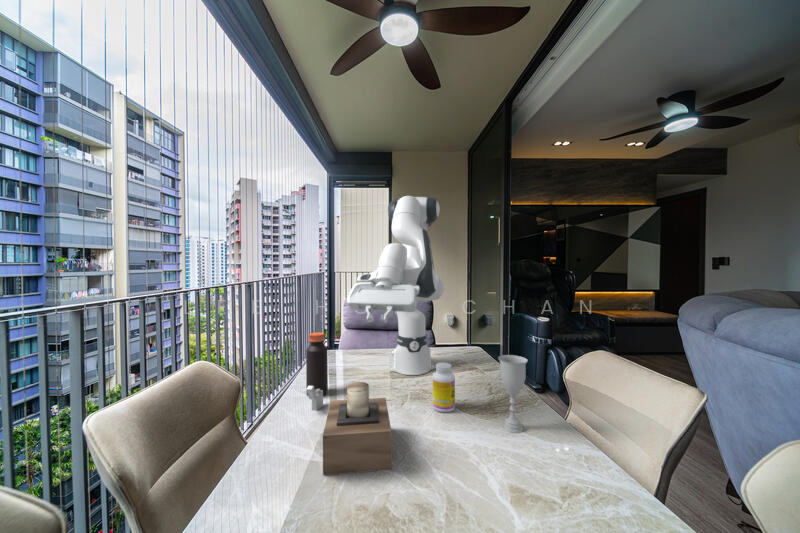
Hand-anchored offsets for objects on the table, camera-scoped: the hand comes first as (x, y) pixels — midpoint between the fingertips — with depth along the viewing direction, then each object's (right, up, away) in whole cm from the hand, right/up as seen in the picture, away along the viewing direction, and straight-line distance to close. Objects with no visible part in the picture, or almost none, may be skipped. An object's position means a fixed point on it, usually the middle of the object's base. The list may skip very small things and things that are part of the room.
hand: (376, 321), depth 82 cm
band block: (-3, -27, -12) cm, 30 cm away
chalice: (+36, -27, -3) cm, 45 cm away
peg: (-3, -21, -12) cm, 25 cm away
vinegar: (-21, -28, +18) cm, 39 cm away
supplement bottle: (+20, -27, +8) cm, 35 cm away
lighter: (-19, -28, +8) cm, 34 cm away
